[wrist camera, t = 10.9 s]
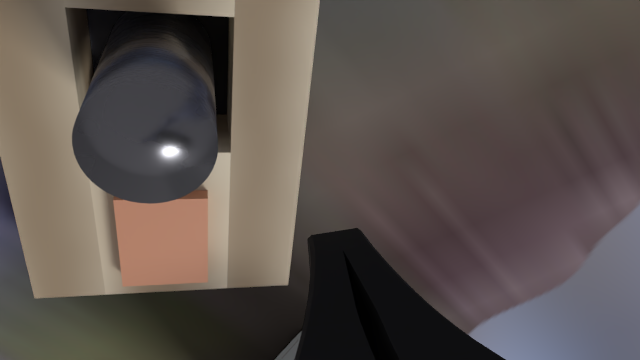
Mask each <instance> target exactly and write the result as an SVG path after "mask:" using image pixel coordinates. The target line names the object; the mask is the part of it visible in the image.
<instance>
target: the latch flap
mask: <svg viewBox="0 0 640 360" xmlns="http://www.w3.org/2000/svg"><path fill="white" fill-rule="evenodd" d="M113 203H114V212H115V221H116V230H117V239H118V248H119V258H120V267H121V276H122V285H123V287H125V286H145V285H165V284H185V283H205V282H208V190H194V191H192V192H191V193H189V194H187V195H185V196H184V197H181V198H178V199H176V200H172V201H168V202H163V203H152V204H147V203H136V202H131V201H127V200H123V199H120V198H118V197H115V196H114V199H113Z"/></svg>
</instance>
